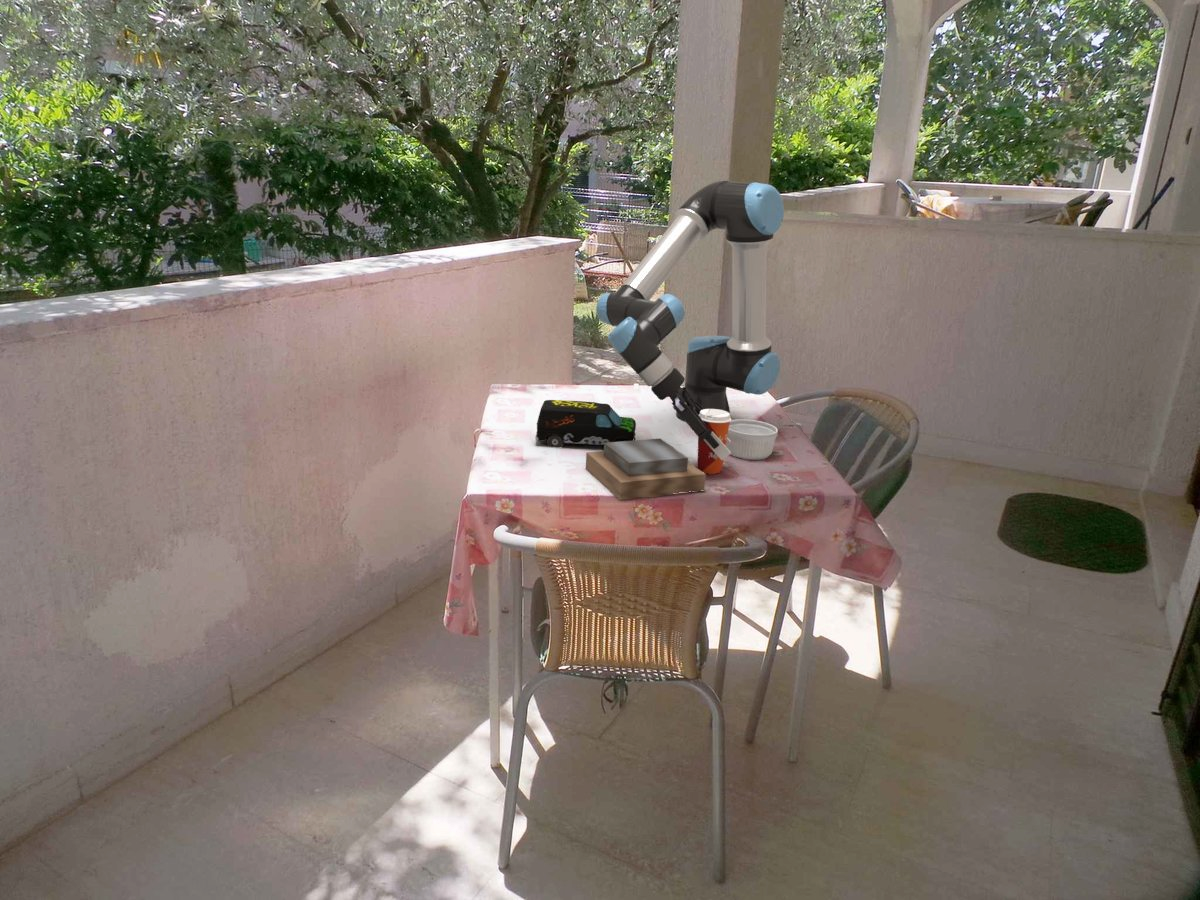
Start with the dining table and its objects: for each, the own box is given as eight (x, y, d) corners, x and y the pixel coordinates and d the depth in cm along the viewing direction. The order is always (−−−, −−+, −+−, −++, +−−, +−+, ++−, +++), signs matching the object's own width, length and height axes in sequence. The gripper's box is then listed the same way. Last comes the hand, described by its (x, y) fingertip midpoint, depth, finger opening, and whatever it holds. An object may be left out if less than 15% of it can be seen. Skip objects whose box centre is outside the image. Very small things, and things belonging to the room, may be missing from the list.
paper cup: (717, 478, 194) (723, 419, 190) (687, 470, 198) (692, 412, 193) (731, 469, 200) (737, 412, 196) (701, 462, 204) (707, 406, 200)
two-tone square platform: (663, 461, 203) (665, 433, 201) (704, 491, 186) (706, 461, 183) (585, 468, 196) (587, 439, 193) (620, 500, 178) (621, 468, 176)
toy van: (634, 453, 208) (637, 414, 205) (534, 447, 209) (535, 408, 206) (635, 440, 219) (637, 402, 215) (539, 434, 219) (540, 396, 216)
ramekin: (782, 452, 215) (786, 426, 213) (762, 465, 204) (765, 438, 202) (734, 441, 222) (737, 415, 219) (712, 453, 211) (715, 427, 209)
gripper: (653, 377, 205) (714, 447, 208) (645, 398, 185) (713, 475, 189) (676, 357, 202) (738, 428, 206) (671, 377, 183) (739, 454, 186)
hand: (726, 450), depth 197 cm, fingers closed on paper cup, 8 cm apart
